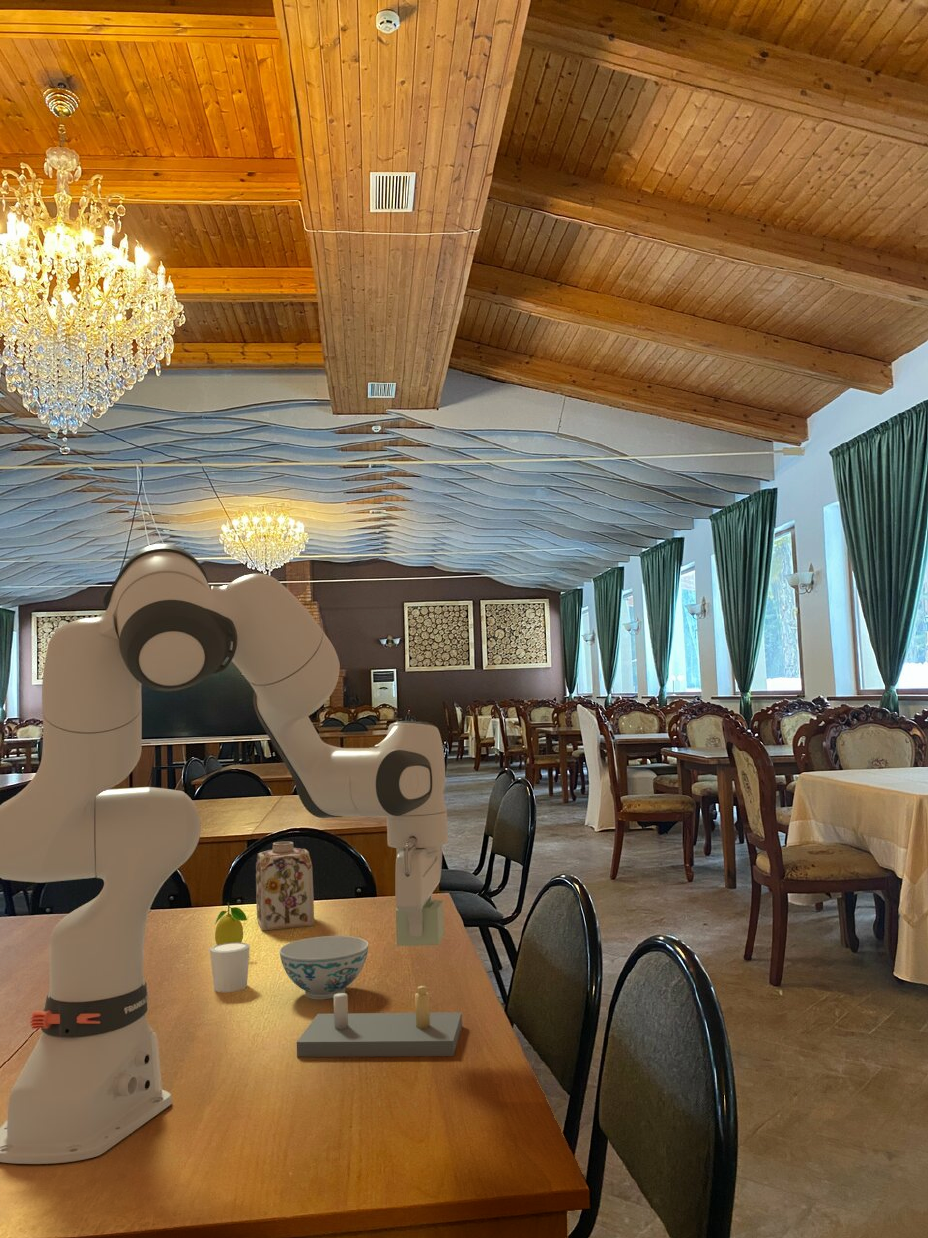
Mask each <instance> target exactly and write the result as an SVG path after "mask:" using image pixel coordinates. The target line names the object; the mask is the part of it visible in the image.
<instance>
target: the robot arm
mask: <svg viewBox="0 0 928 1238" xmlns="http://www.w3.org/2000/svg"><path fill="white" fill-rule="evenodd" d="M102 600H103V602H102V603H103V605H104V609H105V612H104V613H102V615H99V616H96V617H86V618H80V619H79V618H78V619H76V620H73V621H70V622H67V623H65V624H63V625H62V626H61V627H60V628H58V629H57V630H55V632H54V633H53V635H52V636H51V638H50V639H49V641H48V643H47V649H46V655H45V659H44V664H43V666H44V667H43V671H42V672H43V674H42V683H41V684H42V685H41V686H42V687H41V701H42V702H41V707H42V708H41V709H42V711H41V712H42V735H43V736H42V752H41V753H42V754H41V760H40V764H39V766H38V769H37V771H36V773H35V774H34V776H33V778H32V779H31V780H30V782H29V783H28V784H27V785H26V786H25V787H24V788H23V789H22V790H21V791H19V792H18V793H17V794H16V795H14V796H12V797H11V798H9V799H8V800H6V801H4V802H3V803H1V804H0V879H1V880H6V881H16V882H25V883H26V882H27V883H28V882H29V883H39V884H43V883H52V882H53V883H54V882H61V881H63V882H65V881H73V880H74V881H75V880H83V879H93V878H96V879H101V880H103V887H102V889H101V891H100V892H99V894H98V895H97V896H95V898H93V899H90V901H88V902H87V903H85V904H82V905H81V906H79V907H78V908H75V909H74V910H73V911H71V912H69V913H68V914H66V915H65V916H64V917H62V919H61V920H59V921H58V923H57V924H56V925H55V926H54V928H53V929H52V931H51V933H50V938H49V993H48V994H47V996H46V999H45V1003H44V1006H43V1008H42V1010H35V1011H33V1012H32V1014H31V1017H30V1021H29V1023H30V1027H31V1029H32V1030H39V1029H40V1030H41V1032H42V1033H41V1034H40V1036H39V1039H38V1041H37V1042H36V1045H35V1047H34V1048H33V1049H32V1051H31V1054H30V1055H29V1057H28V1058H27V1060H26V1063H25V1065H24V1066H23V1068H22V1070H21V1072H20V1073H19V1075H18V1078H17V1080H16V1081H15V1083H14V1085H13V1086H12V1089H11V1090H10V1093H9V1096H8V1097H9V1098H8V1103H7V1104H8V1105H7V1117H6V1118H7V1119H6V1120H5V1122H3V1124H2V1125H1V1126H0V1163H7V1164H18V1165H19V1164H21V1165H22V1164H24V1165H25V1164H26V1165H42V1164H45V1165H49V1164H61V1163H71V1162H77V1161H78V1162H79V1161H83V1160H88V1159H91V1158H95V1157H99V1156H101V1155H103V1154H104V1153H106V1152H107V1151H108V1150H110V1149H111V1148H112V1147H114V1146H115V1145H117V1144H118V1143H119V1142H121V1141H122V1140H124V1139H126V1137H128V1136H129V1135H130V1134H132V1133H133V1132H135V1131H136V1130H138V1129H140V1127H142V1126H143V1125H145V1124H146V1123H147V1122H149V1121H151V1119H153V1118H155V1116H157V1115H159V1114H160V1113H162V1112H163V1111H164V1110H165V1109H167V1108H168V1107H170V1106H171V1105H172V1104H173V1098H172V1093H170V1092H169V1091H167V1090H164V1089H163V1085H162V1083H163V1082H162V1072H161V1061H160V1060H161V1059H160V1049H159V1039H158V1035H157V1033H156V1032H155V1030H153V1028H152V1027H151V1025H150V1023H149V1022H148V1020H147V1017H146V1013H147V1012H148V1000H149V992H148V986H147V982H146V981H145V980H144V951H145V950H144V949H145V946H144V945H145V935H146V934H145V933H146V925H147V922H148V921H147V920H148V917H149V913H150V910H151V908H152V904H153V902H154V900H155V898H156V897H157V895H158V893H159V892H160V890H161V888H162V887H163V886H164V883H165V882H166V881H167V880H168V879H169V878H170V876H172V874H173V873H174V872H175V871H177V869H179V868H180V867H181V866H182V865H184V864H185V863H186V862H187V861H188V860H189V858H190V857H191V856H192V855H193V854H194V852H195V850H196V848H197V846H198V844H199V840H200V838H201V830H202V827H201V825H202V824H201V823H202V822H201V817H200V814H199V810H198V808H197V806H196V804H195V802H194V801H193V800H192V799H191V797H190V796H189V795H188V794H187V793H185V791H183V790H177V789H170V788H164V787H153V786H143V787H127V788H124V787H123V788H114V787H115V786H116V785H119V784H120V783H122V782H123V781H124V780H126V779H127V778H128V777H129V775H130V774H131V773H132V772H133V770H134V769H135V767H136V766H137V765H138V763H139V761H140V759H141V756H142V743H143V742H142V739H143V737H142V729H143V728H142V727H143V725H142V724H143V723H142V722H143V721H142V720H143V719H142V718H143V716H142V712H143V710H142V707H143V705H142V698H143V697H142V685H143V686H144V687H146V688H149V689H151V690H155V691H159V692H175V691H180V690H184V689H188V688H191V687H193V686H195V685H198V684H199V683H201V682H202V681H204V680H206V679H207V678H209V677H210V676H211V675H214V674H217V673H221V672H224V670H226V669H227V668H228V667H229V665H230V664H231V662H232V663H233V664H234V665H235V666H236V668H237V669H238V670H239V672H240V673H241V674H242V676H243V677H244V678H245V680H247V683H249V685H250V686H251V688H252V689H253V694H252V697H253V698H252V703H253V708H254V712H255V713H256V716H257V718H258V721H259V722H260V724H261V726H262V728H263V729H264V731H265V733H266V735H267V736H268V738H269V740H270V742H271V743H272V745H273V746H274V748H275V750H276V751H277V753H278V755H279V756H280V758H281V760H282V762H283V763H284V765H285V767H286V768H287V770H288V771H289V774H290V775H291V778H292V780H293V782H294V783H293V784H294V786H295V788H296V791H297V795H298V797H299V800H300V802H301V804H302V805H303V806H304V808H305V809H306V810H307V812H309V813H310V815H312V816H314V817H317V818H320V819H330V818H342V817H349V818H351V817H352V818H386V830H387V831H386V832H387V833H386V835H387V841H386V842H387V847H390V848H395V849H396V857H395V858H396V859H395V873H394V876H395V877H394V879H395V882H394V883H395V885H394V886H395V889H394V890H395V891H394V892H395V898H394V899H395V906H396V909H398V910H399V911H407V917H408V921H409V930H410V935H411V936H412V937H419V936H421V935H422V933H423V932H424V929H423V921H422V911H423V906H424V905H425V903H426V902H427V901H429V900H433V893H434V891H435V889H437V886H438V885H439V883H440V882H441V876H442V867H443V865H442V863H443V846H444V845H446V844H448V842H449V836H448V832H449V831H448V813H447V812H448V810H447V806H446V802H445V796H444V789H445V785H446V782H447V781H446V780H447V779H446V778H447V777H446V763H445V752H444V746H443V742H442V737H441V734H440V731H439V729H438V727H437V726H435V725H434V724H432V723H430V722H424V721H413V720H400V721H399V720H398V721H395V722H392V723H390V724H389V725H388V728H387V732H386V736H385V737H384V738H383V740H381V741H380V742H379V743H377V744H375V745H374V746H373V747H339V746H335V745H331V744H328V743H326V742H324V741H323V740H322V739H321V737H320V735H319V734H318V731H317V729H316V728H315V726H314V724H313V723H312V721H311V719H310V717H309V716H310V715H312V714H314V713H315V712H317V710H319V709H320V708H321V707H322V706H323V705H324V704H325V703H326V702H327V701H328V699H329V698H330V697H331V695H332V694H333V692H334V691H335V689H336V687H337V684H338V682H339V681H338V680H339V677H340V670H341V669H340V667H341V666H340V664H341V663H340V659H339V656H338V654H337V651H336V649H335V647H334V645H333V644H332V642H331V640H330V639H329V638H328V635H326V633H325V631H324V630H323V628H321V626H320V625H319V623H318V622H317V621H316V619H315V618H314V616H313V615H312V614H311V613H310V612H309V610H308V609H307V607H305V606H304V604H302V602H301V601H300V600H299V599H298V598H297V597H296V596H295V595H294V594H293V593H292V592H291V591H290V590H289V589H288V588H287V587H286V586H285V585H284V584H282V583H281V582H280V581H279V580H278V579H276V578H275V577H273V576H271V575H268V574H266V573H265V574H264V573H250V574H246V575H243V576H240V577H238V578H236V579H234V580H232V581H231V582H230V583H228V584H227V585H226V584H225V585H222V586H221V585H220V586H217V585H216V586H215V585H211V587H210V585H209V579H208V576H207V573H206V571H205V570H204V568H203V566H202V565H201V564H200V562H199V561H198V560H197V559H196V558H195V556H193V555H192V554H191V553H189V551H187V550H185V549H184V548H182V547H179V546H177V545H173V544H167V543H155V544H151V545H148V546H145V547H143V548H141V549H139V550H137V551H136V552H135V553H133V555H132V556H131V557H129V559H128V560H127V561H126V563H125V564H124V565H123V566H122V568H121V570H120V571H119V573H118V575H117V576H116V578H115V580H114V582H113V583H112V584H111V585H110V587H109V589H108V590H107V592H106V593H105V595H104V597H103V599H102ZM226 659H228V660H227V661H226V662H225V660H226ZM224 662H225V663H224Z"/></svg>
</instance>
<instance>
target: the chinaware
mask: <svg viewBox="0 0 928 1238" xmlns="http://www.w3.org/2000/svg"><path fill="white" fill-rule="evenodd" d="M368 953H369V942H368V941H367V940H365V939H363V938H360V937H356V936H347V935H346V936H345V935H329V936H327V935H326V936H316V937H314V936H313V937H309V938H303V939H299V940H295V941H292V942H288V943H287V944H285V945H282V947H280V949H279V957H280V961H281V963H282V967H283V969H284V971H285V973H286V975H287V976H288V978H289V979H290V980H291V981H292V983H293V984H295V985H296V986H297V987H298V988H300V989H301V990H303V991H304V992H305V996H306V997H307V998H309V999H313V1000H329V999H334V995H335V994H338V993H346V988H347V987H349V985H351V984H352V983H353V982H354V981H355V979H357V977H359V974H360V973H361V972H362V970H363V967H364V966H365V963H366V959H367V957H368Z"/></svg>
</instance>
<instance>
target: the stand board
mask: <svg viewBox="0 0 928 1238" xmlns="http://www.w3.org/2000/svg"><path fill="white" fill-rule="evenodd" d="M414 998H415V999H414V1002H415V1004H414V1005H415V1012H373V1013H372V1012H370V1013H369V1012H367V1013H366V1012H365V1013H363V1012H362V1013H360V1012H359V1013H357V1012H356V1013H355V1012H353V1013H352V1012H351V1013H349V1008H348V1007H349V1004H348V1000H349V999H348V994H347V993H346V992H345V993H338V994H335V995H334V998H333V1013H317V1014H316V1016H315V1017H314V1018H313V1020H311V1022H310V1024H309V1025H308V1026H307V1027H306V1029H305V1030H304V1031H303V1033H302V1034H301V1036H300V1037H299V1038H298V1040H297V1041H296V1057H297V1058H315V1057H316V1058H321V1057H322V1058H325V1057H327V1058H329V1057H331V1058H332V1057H333V1058H337V1057H342V1058H344V1057H345V1058H347V1057H349V1058H350V1057H352V1058H353V1057H354V1058H355V1057H359V1058H360V1057H361V1058H362V1057H454V1056H455V1053H456V1050H457V1049H456V1048H457V1047H458V1046H457V1045H458V1042H459V1038H460V1035H461V1032H462V1027H463V1016H462V1015H463V1014H462V1013H463V1012H462V1011H461V1012H460V1011H459V1012H456V1011H455V1012H449V1011H448V1012H446V1011H445V1012H444V1011H443V1012H430V994H429V992H427V987H426V985H419V986H417V992H416V993H415V994H414Z"/></svg>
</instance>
